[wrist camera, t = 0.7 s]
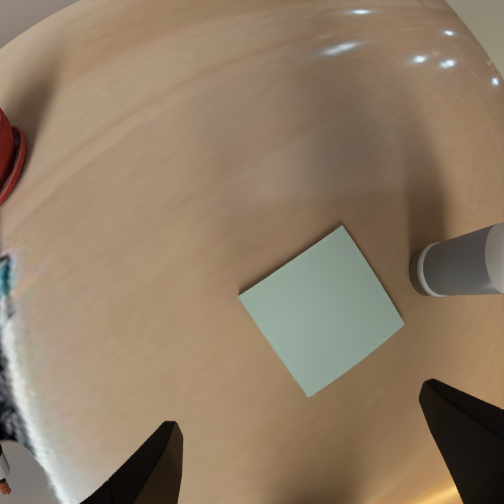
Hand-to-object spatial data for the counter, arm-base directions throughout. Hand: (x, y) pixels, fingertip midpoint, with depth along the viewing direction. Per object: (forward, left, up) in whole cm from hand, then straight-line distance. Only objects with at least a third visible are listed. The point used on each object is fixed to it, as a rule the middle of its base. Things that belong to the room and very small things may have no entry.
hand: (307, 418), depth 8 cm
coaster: (0, -5, -13) cm, 14 cm away
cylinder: (-3, -15, -13) cm, 20 cm away
